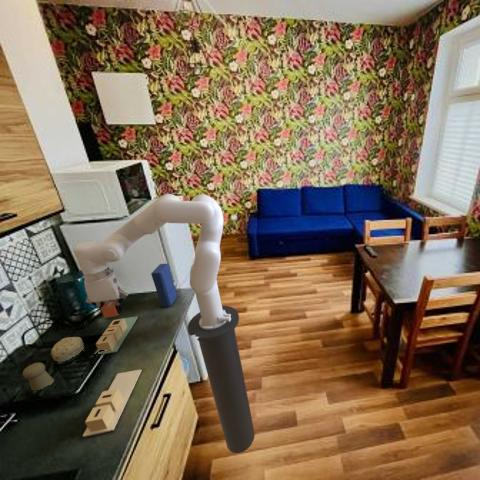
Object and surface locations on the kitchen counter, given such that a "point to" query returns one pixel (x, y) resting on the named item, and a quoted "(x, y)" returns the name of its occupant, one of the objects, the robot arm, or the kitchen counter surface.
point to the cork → (37, 376)
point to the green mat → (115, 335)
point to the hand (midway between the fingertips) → (113, 312)
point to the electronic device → (164, 285)
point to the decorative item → (67, 348)
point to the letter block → (109, 309)
